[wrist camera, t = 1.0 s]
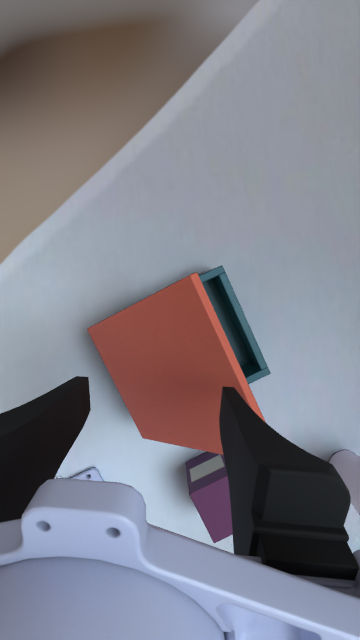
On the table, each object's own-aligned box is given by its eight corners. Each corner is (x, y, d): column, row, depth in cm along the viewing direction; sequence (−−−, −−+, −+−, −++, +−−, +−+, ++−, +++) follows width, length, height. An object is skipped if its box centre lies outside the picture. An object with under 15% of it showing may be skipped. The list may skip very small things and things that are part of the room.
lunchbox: (214, 269, 29) (222, 265, 25) (257, 364, 30) (270, 373, 26) (99, 323, 29) (90, 327, 25) (147, 417, 30) (145, 434, 26)
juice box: (206, 504, 31) (214, 544, 26) (184, 461, 30) (188, 493, 25) (241, 487, 31) (255, 523, 26) (220, 444, 30) (231, 473, 25)
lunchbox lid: (197, 271, 14) (189, 274, 14) (283, 459, 15) (278, 466, 15) (92, 326, 25) (86, 328, 24) (147, 434, 26) (142, 438, 25)
